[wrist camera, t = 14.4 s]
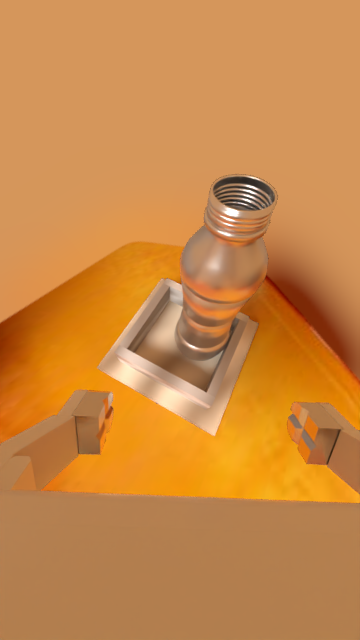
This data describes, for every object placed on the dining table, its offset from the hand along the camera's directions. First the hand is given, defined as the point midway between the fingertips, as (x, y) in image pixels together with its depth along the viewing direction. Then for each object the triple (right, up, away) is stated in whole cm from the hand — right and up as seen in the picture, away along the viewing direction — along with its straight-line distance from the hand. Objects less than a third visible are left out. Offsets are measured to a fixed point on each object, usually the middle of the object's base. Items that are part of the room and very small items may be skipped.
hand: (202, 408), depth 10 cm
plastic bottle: (+2, +1, +19) cm, 19 cm away
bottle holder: (-1, 0, +20) cm, 20 cm away
